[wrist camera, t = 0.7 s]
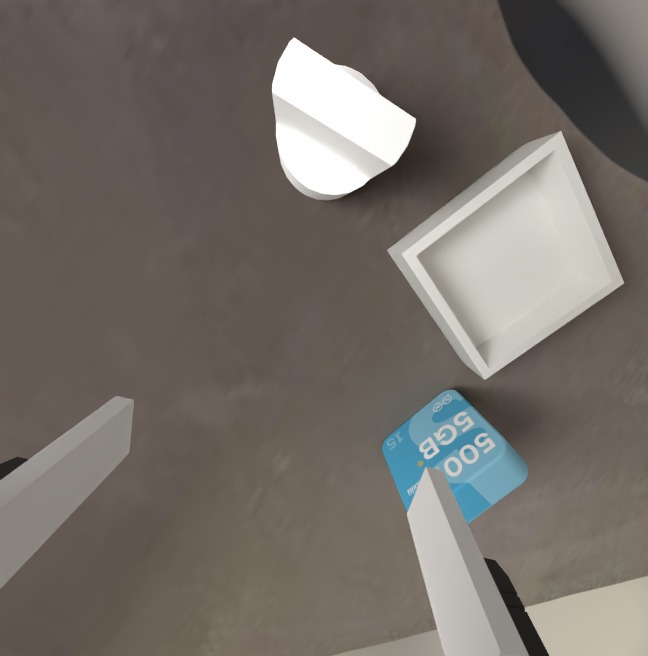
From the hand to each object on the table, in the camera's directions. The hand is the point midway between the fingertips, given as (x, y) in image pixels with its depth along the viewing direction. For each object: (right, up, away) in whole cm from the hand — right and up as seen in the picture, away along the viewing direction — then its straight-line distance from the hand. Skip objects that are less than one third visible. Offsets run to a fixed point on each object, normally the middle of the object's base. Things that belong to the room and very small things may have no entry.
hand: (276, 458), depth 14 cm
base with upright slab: (+2, +23, +17) cm, 29 cm away
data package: (+15, -7, +28) cm, 32 cm away
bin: (+21, +13, +22) cm, 33 cm away
